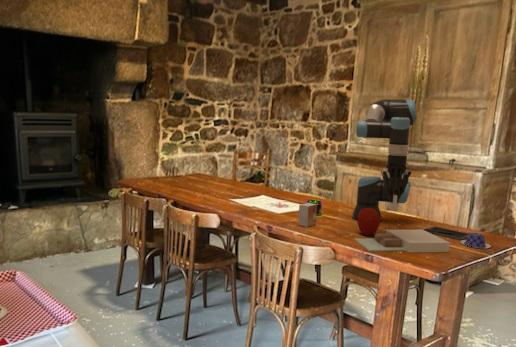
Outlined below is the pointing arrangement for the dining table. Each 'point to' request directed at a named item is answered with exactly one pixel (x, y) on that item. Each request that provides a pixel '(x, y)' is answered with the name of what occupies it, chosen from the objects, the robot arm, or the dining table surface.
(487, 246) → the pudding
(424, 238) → the cream flat block
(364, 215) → the dark red rounded piece
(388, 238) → the walnut block
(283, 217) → the dining table surface
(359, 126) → the robot arm
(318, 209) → the toy cauldron
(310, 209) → the small box
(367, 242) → the mat
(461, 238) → the picture frame
